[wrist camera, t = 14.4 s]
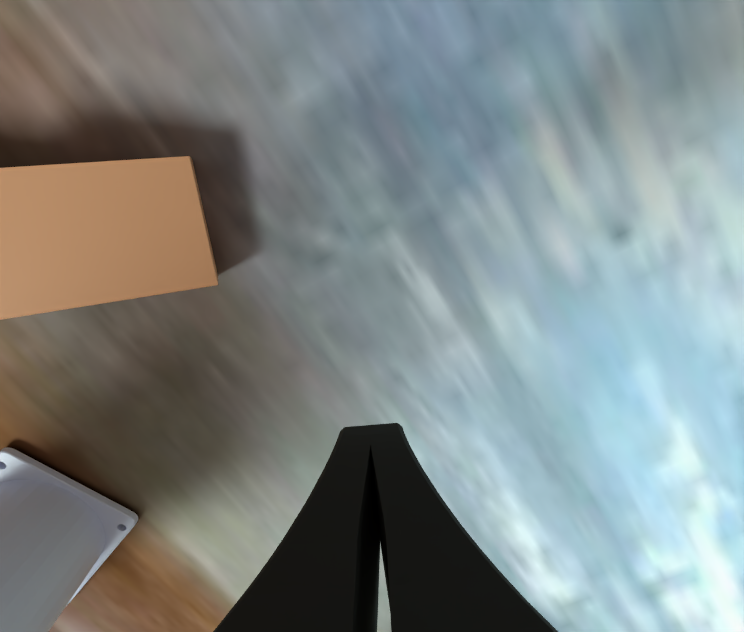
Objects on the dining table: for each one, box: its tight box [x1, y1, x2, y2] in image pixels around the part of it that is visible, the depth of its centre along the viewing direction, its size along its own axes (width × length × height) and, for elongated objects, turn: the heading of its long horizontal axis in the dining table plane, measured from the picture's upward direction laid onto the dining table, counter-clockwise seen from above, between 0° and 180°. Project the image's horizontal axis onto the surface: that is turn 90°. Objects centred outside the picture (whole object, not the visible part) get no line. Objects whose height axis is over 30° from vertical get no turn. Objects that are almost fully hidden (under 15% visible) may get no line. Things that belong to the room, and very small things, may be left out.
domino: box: [0, 156, 218, 320], centre depth 15 cm, size 2×5×8 cm
